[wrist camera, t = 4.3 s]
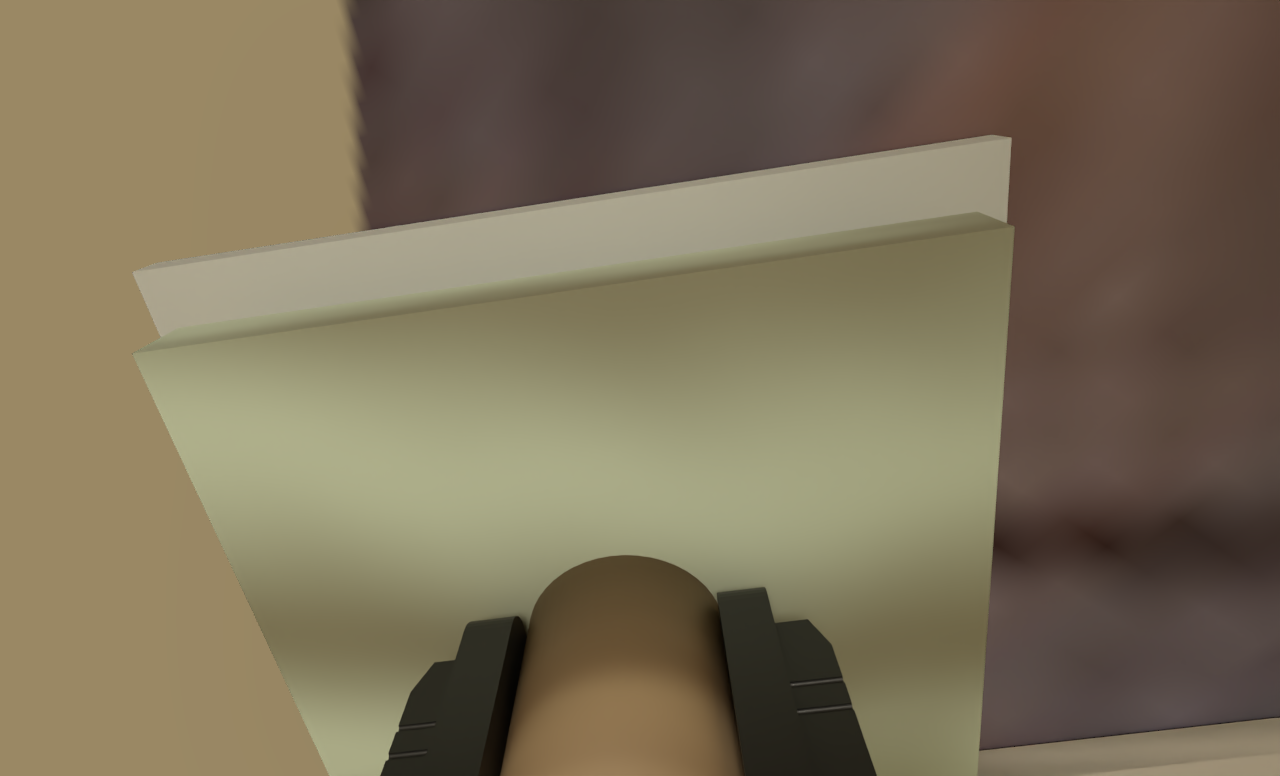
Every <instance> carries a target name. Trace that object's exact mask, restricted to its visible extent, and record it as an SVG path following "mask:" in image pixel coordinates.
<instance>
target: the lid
mask: <svg viewBox="0 0 1280 776" xmlns="http://www.w3.org/2000/svg"><path fill="white" fill-rule="evenodd" d="M1014 230H1015V226H1012V225H1010V224H1007V223H1005V222H1002V221H1000V220H997V219H995V218H992V217H990V216H987V215H985V214H982V213H980V212H971V213H964V214H957V215H950V216H943V217H937V218H930V219H923V220H916V221H909V222H902V223H895V224H888V225H882V226H875V227H868V228H861V229H854V230H847V231H840V232H833V233H827V234H820V235H813V236H806V237H799V238H792V239H785V240H778V241H772V242H765V243H758V244H751V245H744V246H737V247H730V248H724V249H717V250H710V251H703V252H696V253H689V254H682V255H675V256H669V257H662V258H655V259H648V260H641V261H634V262H627V263H620V264H614V265H607V266H600V267H593V268H586V269H579V270H572V271H565V272H559V273H552V274H545V275H538V276H531V277H524V278H517V279H510V280H504V281H497V282H490V283H483V284H476V285H469V286H462V287H455V288H449V289H442V290H435V291H428V292H421V293H414V294H407V295H401V296H394V297H387V298H380V299H373V300H366V301H359V302H352V303H346V304H339V305H332V306H325V307H318V308H311V309H304V310H297V311H291V312H284V313H277V314H270V315H263V316H256V317H249V318H242V319H236V320H229V321H222V322H215V323H208V324H201V325H194V326H187V327H181V328H177V329H175V330H174V331H172V332H170V333H168V334H166V335H165V336H163V337H161V338H159V339H158V340H156V341H154V342H152V343H150V344H148V345H147V346H145V347H143V348H141V349H140V350H138V351H136V352H134V353H133V354H132V355H133V357H134V359H135V361H136V363H137V365H138V367H139V369H140V372H141V374H142V376H143V378H144V380H145V382H146V385H147V387H148V389H149V391H150V393H151V395H152V397H153V399H154V402H155V404H156V406H157V408H158V410H159V412H160V415H161V417H162V418H163V421H164V423H165V425H166V427H167V430H168V432H169V434H170V436H171V438H172V440H173V442H174V444H175V447H176V449H177V451H178V453H179V455H180V457H181V459H182V461H183V464H184V466H185V468H186V470H187V472H188V474H189V476H190V479H191V481H192V483H193V485H194V487H195V489H196V492H197V494H198V496H199V498H200V500H201V502H202V504H203V506H204V509H205V511H206V513H207V515H208V517H209V519H210V521H211V524H212V526H213V528H214V530H215V532H216V534H217V536H218V538H219V541H220V543H221V545H222V547H223V549H224V551H225V553H226V555H227V558H228V560H229V562H230V564H231V566H232V569H233V571H234V573H235V575H236V577H237V579H238V581H239V584H240V586H241V588H242V590H243V592H244V594H245V596H246V599H247V600H248V603H249V605H250V607H251V609H252V611H253V613H254V615H255V618H256V620H257V622H258V624H259V626H260V628H261V631H262V633H263V635H264V637H265V639H266V641H267V643H268V646H269V648H270V650H271V652H272V654H273V656H274V658H275V660H276V662H277V665H278V667H279V669H280V671H281V673H282V676H283V678H284V679H285V682H286V684H287V686H288V688H289V690H290V692H291V695H292V697H293V699H294V701H295V703H296V705H297V708H298V710H299V712H300V714H301V716H302V718H303V720H304V722H305V725H306V727H307V729H308V731H309V733H310V735H311V737H312V740H313V742H314V744H315V746H316V748H317V750H318V752H319V754H320V757H321V759H322V761H323V763H324V765H325V768H326V770H327V772H328V774H329V776H380V775H381V772H382V769H383V767H384V764H385V761H386V760H388V759H389V754H388V753H389V750H390V747H391V745H392V742H393V739H394V736H395V734H396V732H398V731H399V726H398V725H399V722H400V720H401V717H402V714H403V711H404V709H405V706H406V703H407V700H408V698H409V695H410V692H411V691H412V690H413V688H414V687H415V686H416V685H417V683H418V682H419V681H420V680H421V678H422V677H423V676H424V675H425V674H426V672H427V671H428V670H429V669H430V667H431V666H432V665H433V664H434V662H442V661H450V660H455V659H456V655H457V652H458V649H459V646H460V642H461V639H462V636H463V632H464V630H465V627H466V625H467V624H468V623H469V622H471V621H479V620H487V619H496V618H504V617H512V616H519V617H520V618H521V620H522V622H523V625H524V628H525V632H526V636H527V638H526V644H525V649H524V654H523V659H522V664H521V670H520V675H519V680H518V685H517V691H516V696H515V701H514V706H513V711H512V717H511V722H510V727H509V732H508V737H507V743H506V748H505V753H504V758H503V764H502V769H501V774H500V776H744V771H743V765H742V758H741V752H740V745H739V739H738V733H737V726H736V720H735V713H734V707H733V700H732V694H731V688H730V681H729V675H728V668H727V662H726V655H725V649H724V643H723V636H722V630H721V623H720V617H719V609H718V601H717V592H725V591H733V590H742V589H750V588H758V587H765V588H766V591H767V594H768V598H769V602H770V606H771V610H772V614H773V618H774V621H775V623H779V622H787V621H796V620H805V619H808V620H809V621H810V622H811V623H812V624H813V625H814V626H815V627H816V628H817V629H818V630H819V631H820V633H821V634H822V635H823V636H824V637H825V638H826V639H827V640H828V641H829V642H830V643H831V644H832V647H833V650H834V652H835V655H836V658H837V661H838V664H839V667H840V670H841V673H842V676H843V681H844V682H845V684H846V687H847V690H848V693H849V696H850V699H851V702H852V707H853V710H854V711H855V713H856V716H857V719H858V722H859V725H860V728H861V731H862V734H863V737H864V740H865V742H866V745H867V748H868V751H869V754H870V757H871V760H872V763H873V766H874V769H875V771H876V774H877V776H977V773H978V758H979V743H980V729H981V714H982V699H983V685H984V670H985V655H986V641H987V626H988V611H989V597H990V582H991V567H992V553H993V538H994V523H995V508H996V494H997V479H998V464H999V450H1000V435H1001V420H1002V406H1003V391H1004V376H1005V362H1006V347H1007V332H1008V318H1009V303H1010V288H1011V274H1012V259H1013V244H1014Z"/></svg>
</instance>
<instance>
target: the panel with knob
mask: <svg viewBox="0 0 1280 776" xmlns="http://www.w3.org/2000/svg"><path fill="white" fill-rule="evenodd" d="M1010 156H1011V138H1010V137H1003V136H996V135H987V136H981V137H974V138H968V139H961V140H955V141H948V142H942V143H935V144H929V145H922V146H916V147H909V148H903V149H896V150H890V151H883V152H877V153H870V154H864V155H857V156H851V157H844V158H838V159H831V160H824V161H818V162H811V163H805V164H798V165H792V166H785V167H779V168H772V169H766V170H759V171H753V172H746V173H740V174H733V175H727V176H720V177H714V178H707V179H701V180H694V181H688V182H681V183H675V184H668V185H661V186H655V187H648V188H642V189H635V190H629V191H622V192H616V193H609V194H603V195H596V196H590V197H583V198H577V199H570V200H564V201H557V202H551V203H544V204H538V205H531V206H525V207H518V208H512V209H505V210H498V211H492V212H485V213H479V214H472V215H466V216H459V217H453V218H446V219H440V220H433V221H427V222H420V223H414V224H407V225H401V226H394V227H388V228H381V229H375V230H368V231H362V232H355V233H349V234H342V235H335V236H330V237H323V238H316V239H309V240H303V241H297V242H290V243H284V244H277V245H270V246H264V247H257V248H251V249H245V250H238V251H231V252H225V253H218V254H212V255H205V256H199V257H193V258H185V259H180V260H172V261H166V262H160V263H155V264H153V265H150V266H148V267H145V268H142V269H139V270H137V271H134V272H132V273H133V275H134V278H135V280H136V282H137V284H138V287H139V289H140V291H141V294H142V296H143V298H144V300H145V302H146V305H147V307H148V310H149V311H150V314H151V316H152V319H153V321H154V323H155V326H156V328H157V330H158V332H159V335H160V337H163V336H165V335H166V334H168V333H170V332H172V331H174V330H175V329H177V328H181V327H187V326H194V325H201V324H208V323H215V322H222V321H229V320H236V319H242V318H249V317H256V316H263V315H270V314H277V313H284V312H291V311H297V310H304V309H311V308H318V307H325V306H332V305H339V304H346V303H352V302H359V301H366V300H373V299H380V298H387V297H394V296H401V295H407V294H414V293H421V292H428V291H435V290H442V289H449V288H455V287H462V286H469V285H476V284H483V283H490V282H497V281H504V280H510V279H517V278H524V277H531V276H538V275H545V274H552V273H559V272H565V271H572V270H579V269H586V268H593V267H600V266H607V265H614V264H620V263H627V262H634V261H641V260H648V259H655V258H662V257H669V256H675V255H682V254H689V253H696V252H703V251H710V250H717V249H724V248H730V247H737V246H744V245H751V244H758V243H765V242H772V241H778V240H785V239H792V238H799V237H806V236H813V235H820V234H827V233H833V232H840V231H847V230H854V229H861V228H868V227H875V226H882V225H888V224H895V223H902V222H909V221H916V220H923V219H930V218H937V217H943V216H950V215H957V214H964V213H971V212H980V213H982V214H985V215H987V216H990V217H992V218H995V219H997V220H1000V221H1002V222H1005V223H1007V209H1008V191H1009V174H1010Z"/></svg>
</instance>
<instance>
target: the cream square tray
mask: <svg viewBox="0 0 1280 776" xmlns="http://www.w3.org/2000/svg"><path fill="white" fill-rule="evenodd" d="M977 776H1280V717H1279V718H1270V719H1261V720H1252V721H1243V722H1234V723H1225V724H1216V725H1207V726H1198V727H1189V728H1180V729H1171V730H1162V731H1153V732H1144V733H1135V734H1126V735H1117V736H1108V737H1099V738H1090V739H1081V740H1072V741H1063V742H1054V743H1045V744H1036V745H1027V746H1018V747H1009V748H1000V749H991V750H982V751H979V758H978V773H977Z"/></svg>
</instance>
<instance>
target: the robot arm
mask: <svg viewBox="0 0 1280 776" xmlns="http://www.w3.org/2000/svg"><path fill="white" fill-rule="evenodd" d="M717 601H718V609H719V617H720V623H721V630H722V636H723V643H724V649H725V655H726V662H727V668H728V675H729V681H730V688H731V694H732V700H733V707H734V713H735V720H736V726H737V733H738V739H739V745H740V752H741V758H742V765H743V771H744V776H877V774H876V771H875V769H874V766H873V763H872V760H871V757H870V754H869V751H868V748H867V745H866V742H865V740H864V737H863V734H862V731H861V728H860V725H859V722H858V719H857V716H856V713H855V711H854V710H853V707H852V702H851V699H850V696H849V693H848V690H847V687H846V684H845V682H844V681H843V676H842V673H841V670H840V667H839V664H838V661H837V658H836V655H835V652H834V650H833V647H832V644H831V643H830V642H829V641H828V640H827V639H826V638H825V637H824V636H823V635H822V634H821V633H820V631H819V630H818V629H817V628H816V627H815V626H814V625H813V624H812V623H811V622H810V621H809V620H808V619H805V620H796V621H787V622H779V623H775V621H774V618H773V614H772V610H771V606H770V602H769V598H768V594H767V591H766V588H765V587H758V588H750V589H742V590H733V591H725V592H717ZM526 638H527V636H526V632H525V628H524V625H523V622H522V620H521V618H520V617H519V616H512V617H504V618H496V619H487V620H479V621H471V622H469V623H468V624H467V625H466V627H465V630H464V632H463V636H462V639H461V642H460V646H459V649H458V652H457V655H456V659H455V660H450V661H442V662H434V664H433V665H432V666H431V667H430V669H429V670H428V671H427V672H426V674H425V675H424V676H423V677H422V678H421V680H420V681H419V682H418V683H417V685H416V686H415V687H414V688H413V690H412V691H411V692H410V695H409V698H408V700H407V703H406V706H405V709H404V711H403V714H402V717H401V720H400V722H399V725H398V726H399V731H398V732H396V734H395V736H394V739H393V742H392V745H391V747H390V750H389V753H388V754H389V759H388V760H386V761H385V764H384V767H383V769H382V772H381V775H380V776H500V774H501V769H502V764H503V758H504V753H505V748H506V743H507V737H508V732H509V727H510V722H511V717H512V711H513V706H514V701H515V696H516V691H517V685H518V680H519V675H520V670H521V664H522V659H523V654H524V649H525V644H526Z"/></svg>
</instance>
